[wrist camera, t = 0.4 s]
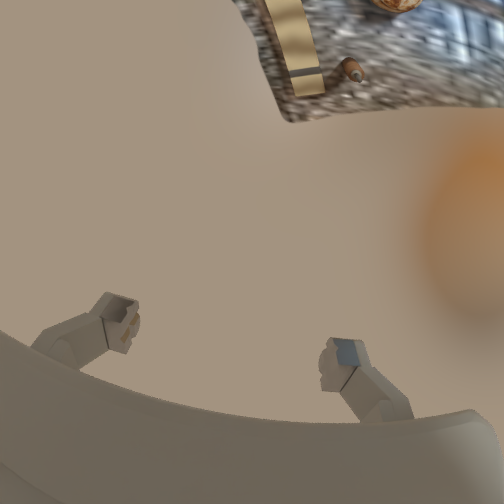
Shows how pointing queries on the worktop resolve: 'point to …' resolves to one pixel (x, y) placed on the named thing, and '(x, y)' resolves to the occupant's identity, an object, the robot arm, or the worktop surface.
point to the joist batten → (297, 46)
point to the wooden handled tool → (353, 69)
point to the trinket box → (397, 5)
